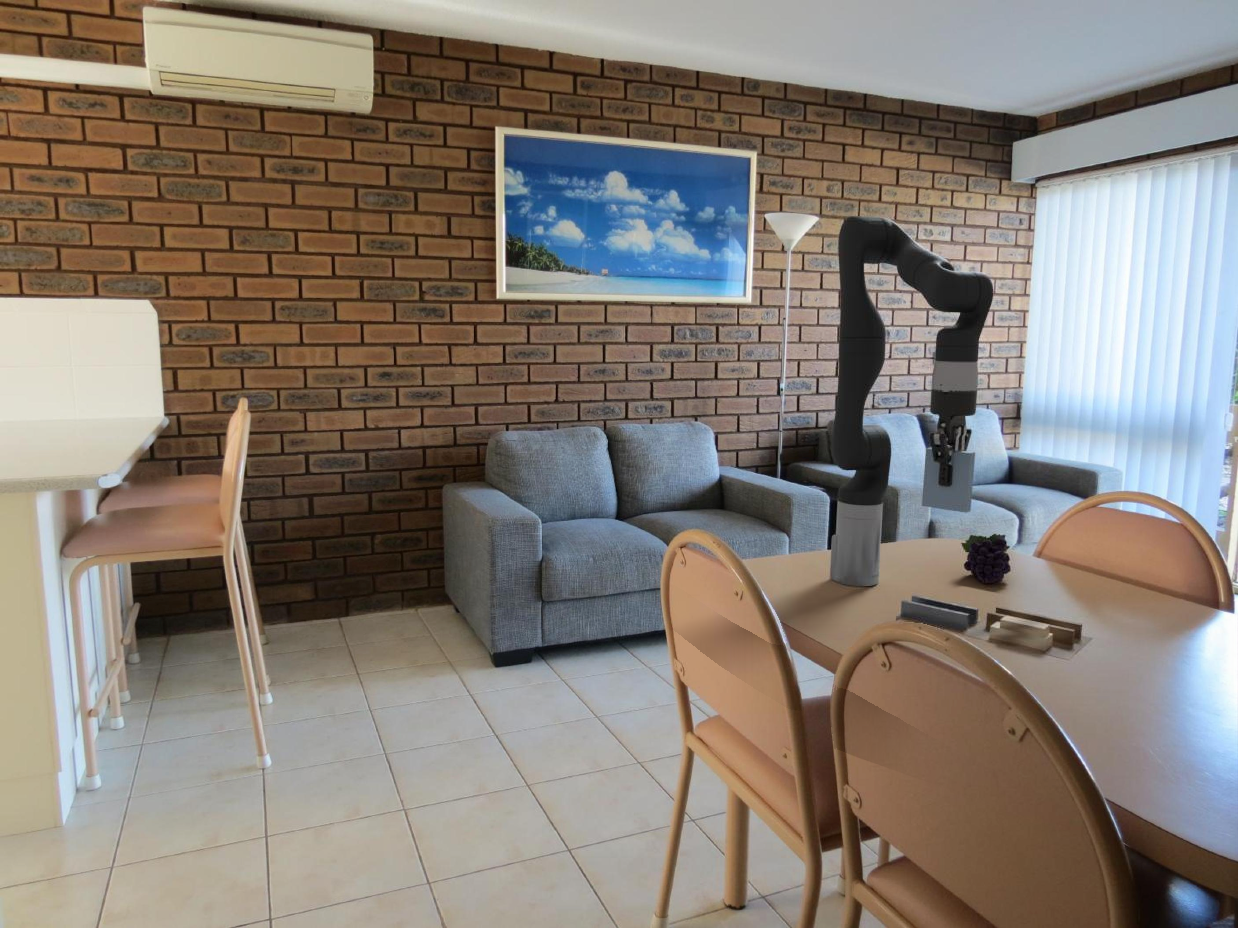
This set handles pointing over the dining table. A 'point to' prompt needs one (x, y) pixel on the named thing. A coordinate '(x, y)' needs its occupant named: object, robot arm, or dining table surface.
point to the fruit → (987, 557)
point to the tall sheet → (958, 492)
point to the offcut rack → (1063, 631)
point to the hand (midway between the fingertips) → (947, 484)
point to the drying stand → (939, 613)
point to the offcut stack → (1022, 632)
